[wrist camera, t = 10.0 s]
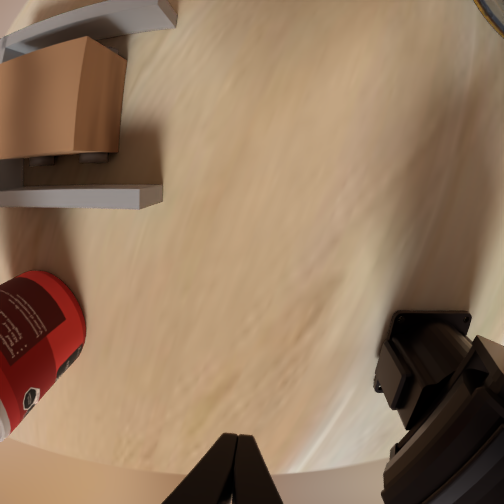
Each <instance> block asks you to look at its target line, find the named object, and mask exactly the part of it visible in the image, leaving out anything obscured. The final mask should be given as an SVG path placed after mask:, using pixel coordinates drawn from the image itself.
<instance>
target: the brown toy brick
mask: <svg viewBox="0 0 504 504" xmlns="http://www.w3.org/2000/svg"><path fill="white" fill-rule="evenodd" d="M126 66H127V60H125V59H124V58H122V57H120V56H119V55H118V50H117V49H115V48H112V47H105V46H103V45H101V44H100V43H98V42H97V41H95V40H93V39H92V38H90V37H88V36H85V37H81V38H77V39H73V40H70V41H66V42H62V43H59V44H55V45H52V46H49V47H45V48H42V49H39V50H36V51H33V52H30V53H27V54H25V55H22V56H19V57H16V58H14V59H11V60H9V61H6V62H3V63H1V64H0V159H16V158H30V162H29V166H42V165H54V156H61V155H74V154H80V156H79V163H99V162H107V161H108V153H114V152H118V151H119V134H120V121H121V109H122V99H123V90H124V81H125V73H126Z"/></svg>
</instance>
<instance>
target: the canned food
mask: <svg viewBox="0 0 504 504" xmlns="http://www.w3.org/2000/svg"><path fill="white" fill-rule="evenodd" d="M85 337H86V326H85V320H84V316H83V313H82V310H81V308H80V306H79V304H78V301H77V300H76V298H75V296H74V295H73V293H72V292H71V291H70V289H69V288H68V287H67V286H66V284H64V283H63V282H62V281H61V280H60V279H59V278H57V277H56V276H54V275H53V274H51V273H48V272H45V271H28V272H25V273H23V274H21V275H19V276H17V277H15V278H13V279H11V280H9V281H7V282H5V283H3V284H1V285H0V442H2V441H3V440H4V439H5V438H6V437H8V436H9V435H10V434H11V432H12V431H13V430H14V429H15V428H16V427H17V426H18V425H19V423H20V422H21V421H22V420H23V419H24V418H25V416H26V415H27V414H28V413H29V412H30V410H31V409H32V408H33V407H34V406H35V405H36V404H37V402H38V401H39V400H40V399H41V398H42V397H43V396H44V394H45V393H46V392H47V391H48V390H49V389H50V388H51V386H52V385H53V384H54V383H55V382H56V381H57V380H58V379H59V377H60V376H61V375H62V374H63V373H64V372H65V371H66V370H67V369H68V368H69V366H70V365H71V364H72V363H73V362H74V361H75V360H76V359H77V358H78V356H79V355H80V353H81V350H82V348H83V345H84V343H85Z"/></svg>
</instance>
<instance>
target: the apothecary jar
mask: <svg viewBox="0 0 504 504" xmlns="http://www.w3.org/2000/svg"><path fill="white" fill-rule="evenodd" d="M474 2H475V4H476V5H477V7H478V8H479V10H480V11H481V13H482V14H483V16H484V17H485V18H486V20H487V21H488V22H489V23H490V24H491V26H492V27H493V28H494V29H495V30H496V31H497V32H498V33H499V34H500V35H501V36H502V37H503V38H504V0H474Z"/></svg>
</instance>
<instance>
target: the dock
mask: <svg viewBox="0 0 504 504" xmlns="http://www.w3.org/2000/svg"><path fill="white" fill-rule="evenodd" d="M177 16H178V15H177V14H176V12H175V11H174V9H173V8H172V6H171V5H170V4H169V2H168V1H167V0H108V1H104V2H100V3H96V4H92V5H88V6H85V7H81V8H78V9H75V10H72V11H68V12H65V13H62V14H59V15H56V16H54V17H51V18H48V19H45V20H43V21H40V22H37V23H35V24H32V25H30V26H27V27H25V28H23V29H20V30H18V31H16V32H13V33H11V34H9V35H7V36H5V37H3V38H0V64H1V63H3V62H6V61H9V60H11V59H14V58H16V57H19V56H22V55H25V54H27V53H30V52H33V51H36V50H39V49H42V48H45V47H49V46H52V45H55V44H59V43H62V42H66V41H70V40H73V39H77V38H81V37H85V36H88V37H90V38H92V39H93V40H100V39H105V38H110V37H115V36H121V35H126V34H133V33H139V32H146V31H154V30H162V29H172V28H176V22H177ZM23 163H24V158H16V159H0V207H63V208H108V209H138V210H140V209H142V208H145V207H148V206H151V205H154V204H157V203H160V202H162V196H163V185H144V184H89V185H48V186H25V187H23Z"/></svg>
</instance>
